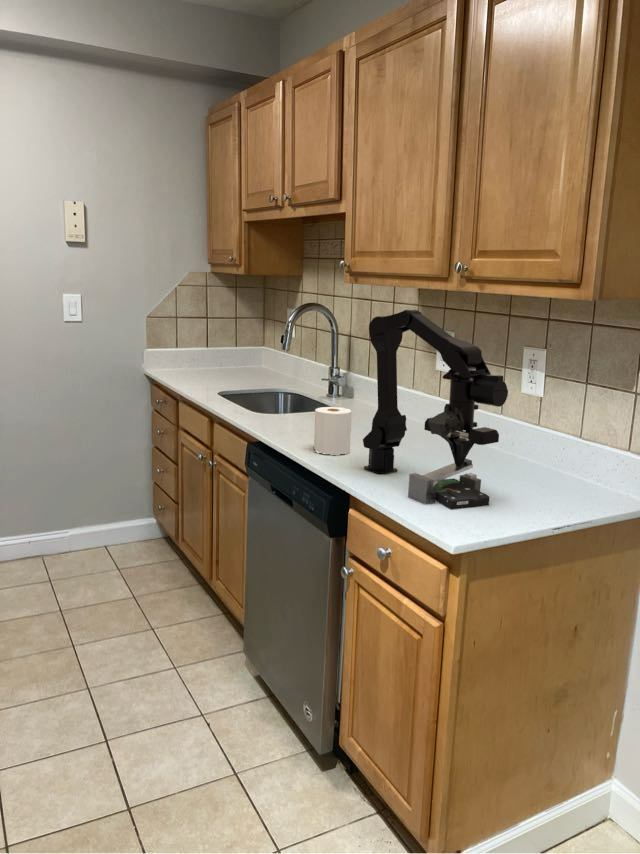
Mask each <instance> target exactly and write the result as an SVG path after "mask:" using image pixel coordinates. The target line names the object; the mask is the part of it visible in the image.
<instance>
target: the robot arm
mask: <svg viewBox="0 0 640 854" xmlns="http://www.w3.org/2000/svg"><path fill="white" fill-rule="evenodd" d="M368 331H369V332H368V333H369V340H370V343H371V345H372V346H373V348H374V350H375V352H376V375H377V378H376V379H377V410H376V412H375V414H374V417H373V418H372V422H371V429H370V432H368V434H366V435H365V436H364V437H363V439H362V443H363V448H366V449H368V465H364V466H363V469H365V470H368V471H369V472H372V473H375V474H377V475H381V474H387V473H393V472H398V468H395V467H394V466H395V454H394V453H395V448H396V447H400V445H401V442H402V439H403V438H405V435H406V432H407V431H408V428H407V424H406V423H407V416H406V414H401V411H400V410H399V407H398V371H397V370H398V369H397V368H398V367H397V366H398V365H397V364H398V363H397V358H398V357H397V353H398V352H397V351H398V349H399V347H400V345H401V343H402V341H403V333H405V332H408V331H410V332H412V333H414V334H415V335H416V336H417V337H419V338H420V339H421V340H423V341H425V343H427V344H428V345H429V346H430V347H432V348H434V349H435V350H436V351H437V352H438V353H439V354H440V357H441V359H442V361H443V362H444V363H445V364H446V365H447V366H448V367H449V368H450V369H449V370H448V371H447V372H446V373H445V374H444V375H442V379H443V380H449V381H450V382H449V383H450V385H449V402H448V403H446V404H444V409H443V412H440V413H437V414H436V415H435V416H433V417H427V418H426V420H425V421H424V431H427V432H430V433H431V434H432V435H437V436H439V437H441V438H442V439H444V440H445V441H446V442H447V443H448V445H449V448H450V451H451V454H452V457H453V460H454V463H455V465H456V466H461V465H462V463H463V462H464V460H465V458H466V459H467V456H468V454H469V453H470V451H471V450H472V448H473V446H474V445H479V446H485V445H490V444H496V443H499V439H500V434H499V431H498V430H497V429H494V428H490V427H486V426H484V427H478V422H477V421H474V420H475V419H474V418H475V411H478V410H479V404H481V405H485V406H493V407H497V408H499V407H502V406H503V405H504V404H505V403H506V402H507V399H508V396H509V390H508V386H507V384H506V382H505V381H504V375H501V374H496V375H495V374H492V373H491V372H490V370H489V368H488V366H487V363H486V362H485V360H484V357H483V356H482V350H481V348H480V347H479V346H477V345H475V344H472V343H471V342H468V341H467V340H463V339H459V338H456V337H454V336H452V335H451V334H450V333H449V332H446V331H445V330H444V329H443V328H441V327H440V326H438V325H437V323H435V322H433V321H432V320H431V319H430V318H428V317H427V316H425V315H424V314H423V313H422V312H421V311H420V310H418V309H404V310H403V311H400V312H398V313H393V314H390V315H385V316H384V315H383V316H382V315H380V316H378V315H377V316H374V317H373V318H372V320H371V321H370V322H369V324H368ZM477 427H478V428H477ZM394 447H395V448H394Z"/></svg>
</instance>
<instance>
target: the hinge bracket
mask: <svg viewBox="0 0 640 854" xmlns="http://www.w3.org/2000/svg"><path fill="white" fill-rule="evenodd" d="M422 475H423V474H420V473H416V472H414V473H409V476H408V492H407V497H408V498H410V499H412V500H414V501H417V502H419V503H422V504H424V505H433V504H436V502H437V501H436V489H437V485H438V482H437V480H433V479H430V478H428V477H425V476H422Z"/></svg>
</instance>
